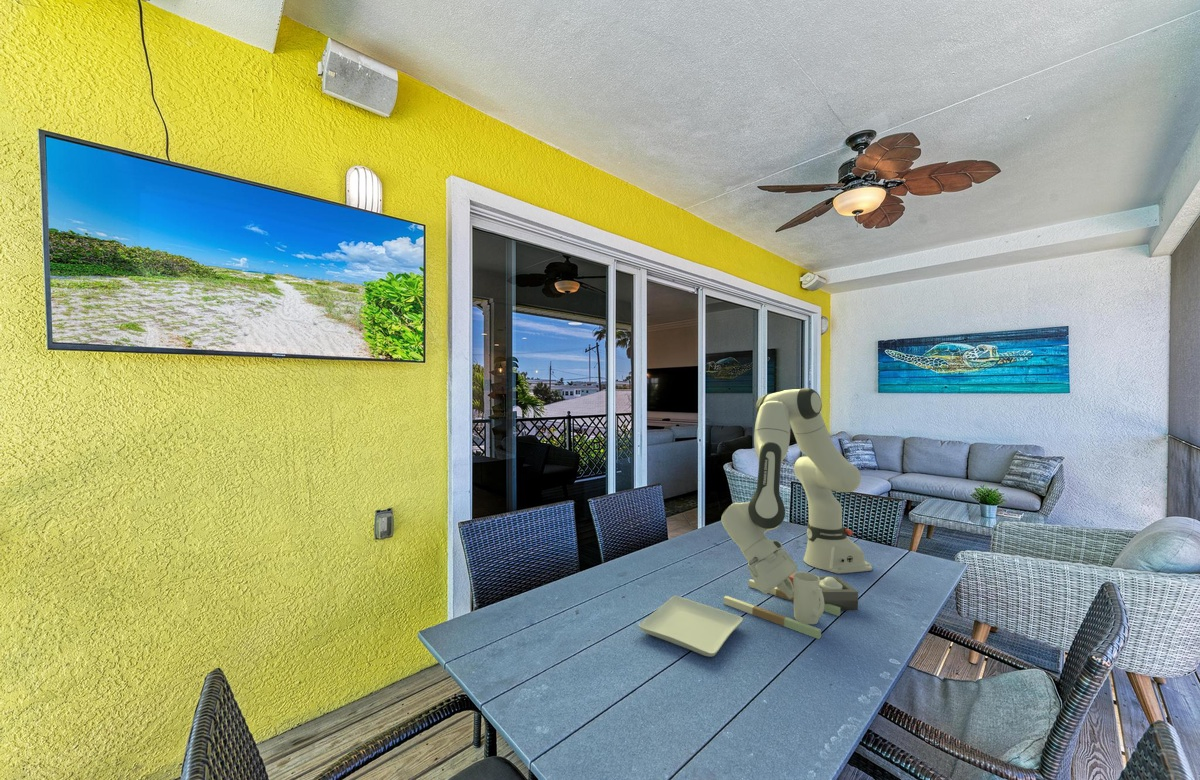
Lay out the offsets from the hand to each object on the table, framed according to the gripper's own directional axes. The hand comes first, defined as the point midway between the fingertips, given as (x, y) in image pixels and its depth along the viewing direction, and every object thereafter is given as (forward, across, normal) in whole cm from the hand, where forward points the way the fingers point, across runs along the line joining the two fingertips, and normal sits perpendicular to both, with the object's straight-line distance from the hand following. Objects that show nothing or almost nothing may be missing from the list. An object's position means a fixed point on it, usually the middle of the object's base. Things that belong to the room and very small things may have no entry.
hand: (793, 596), depth 129 cm
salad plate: (-7, -29, +15) cm, 33 cm away
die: (-1, +15, +8) cm, 17 cm away
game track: (+1, 0, +6) cm, 6 cm away
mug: (+7, -2, 0) cm, 7 cm away
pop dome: (+5, +15, -3) cm, 16 cm away
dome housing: (+7, +15, 0) cm, 17 cm away
